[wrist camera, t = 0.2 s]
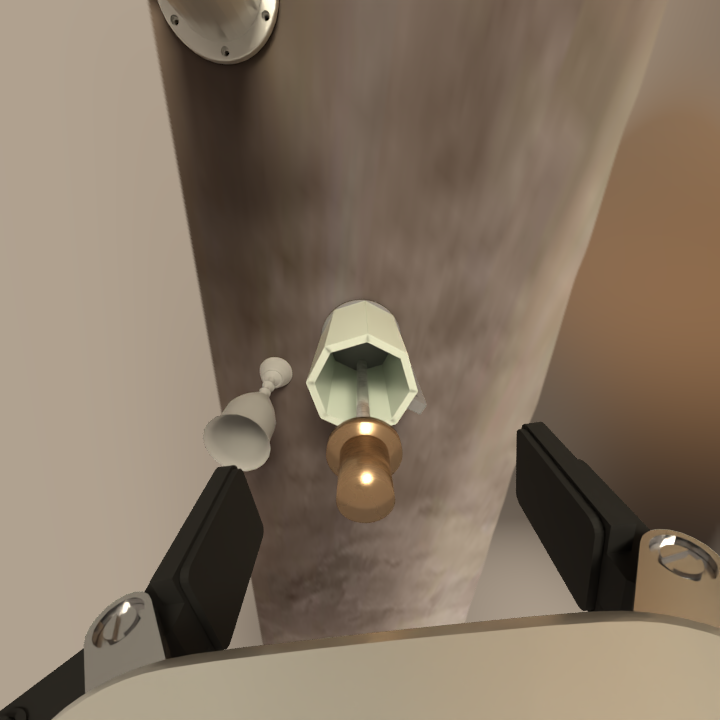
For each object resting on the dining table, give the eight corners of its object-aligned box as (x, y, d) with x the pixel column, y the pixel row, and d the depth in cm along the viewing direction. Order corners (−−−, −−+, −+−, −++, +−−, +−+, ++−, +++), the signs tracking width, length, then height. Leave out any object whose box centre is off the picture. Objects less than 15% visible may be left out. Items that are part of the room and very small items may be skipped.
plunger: (330, 373, 41) (305, 515, 21) (351, 334, 39) (345, 450, 19) (371, 392, 42) (383, 545, 22) (393, 355, 40) (428, 485, 20)
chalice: (307, 382, 52) (283, 457, 36) (269, 399, 53) (229, 479, 37) (282, 343, 50) (245, 403, 33) (244, 361, 51) (189, 429, 34)
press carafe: (308, 353, 50) (288, 407, 36) (343, 284, 47) (337, 313, 32) (387, 390, 53) (399, 455, 38) (426, 328, 49) (456, 373, 34)
